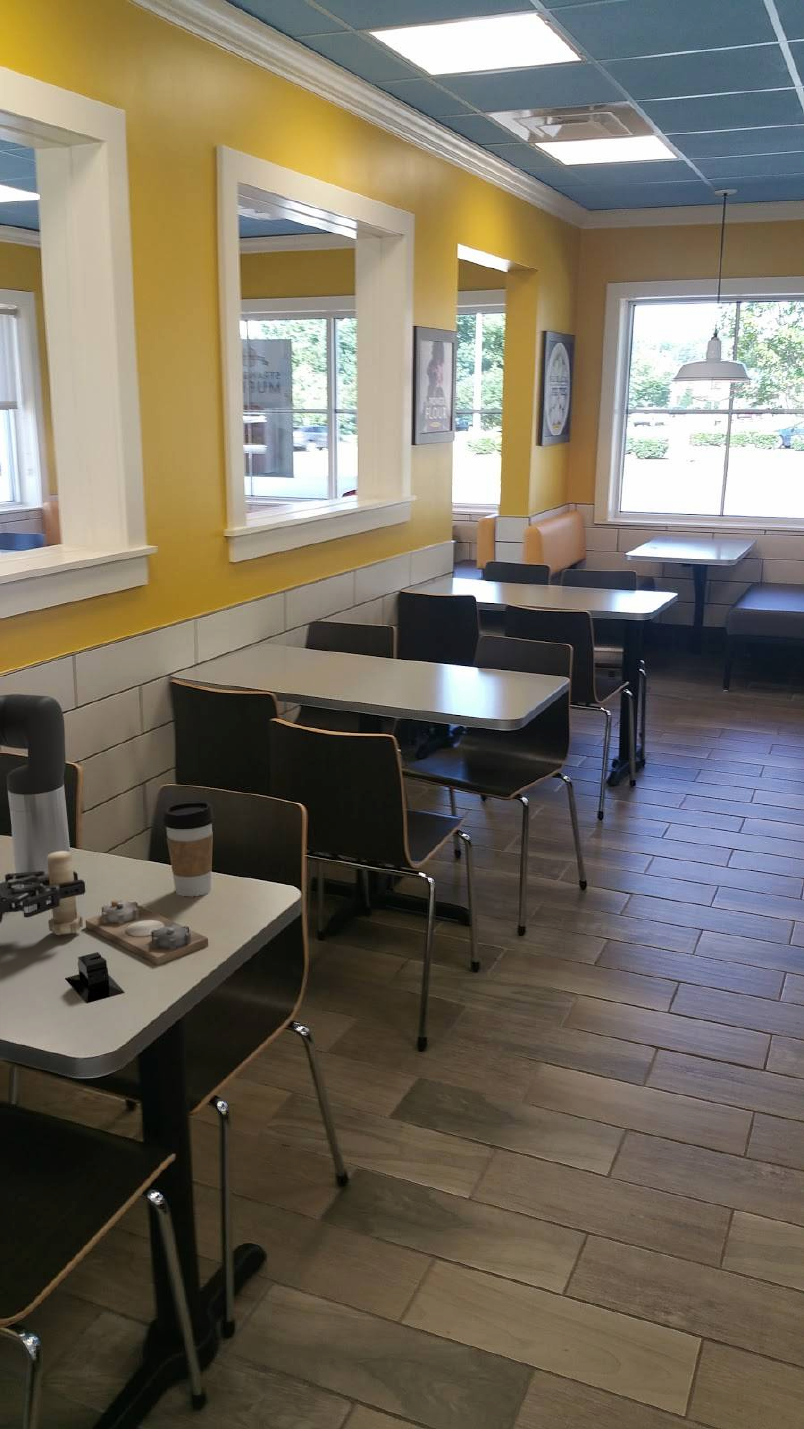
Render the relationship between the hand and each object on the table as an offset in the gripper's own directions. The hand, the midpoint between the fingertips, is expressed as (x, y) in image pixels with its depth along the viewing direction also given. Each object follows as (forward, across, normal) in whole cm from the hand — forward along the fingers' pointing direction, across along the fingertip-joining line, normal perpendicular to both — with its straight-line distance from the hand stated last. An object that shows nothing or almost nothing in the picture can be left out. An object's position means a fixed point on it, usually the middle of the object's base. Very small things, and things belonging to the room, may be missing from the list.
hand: (80, 882), depth 178 cm
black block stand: (-4, -20, +9) cm, 22 cm away
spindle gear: (-3, 0, +7) cm, 8 cm away
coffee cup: (+20, +6, +8) cm, 23 cm away
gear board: (+7, -8, +8) cm, 13 cm away
